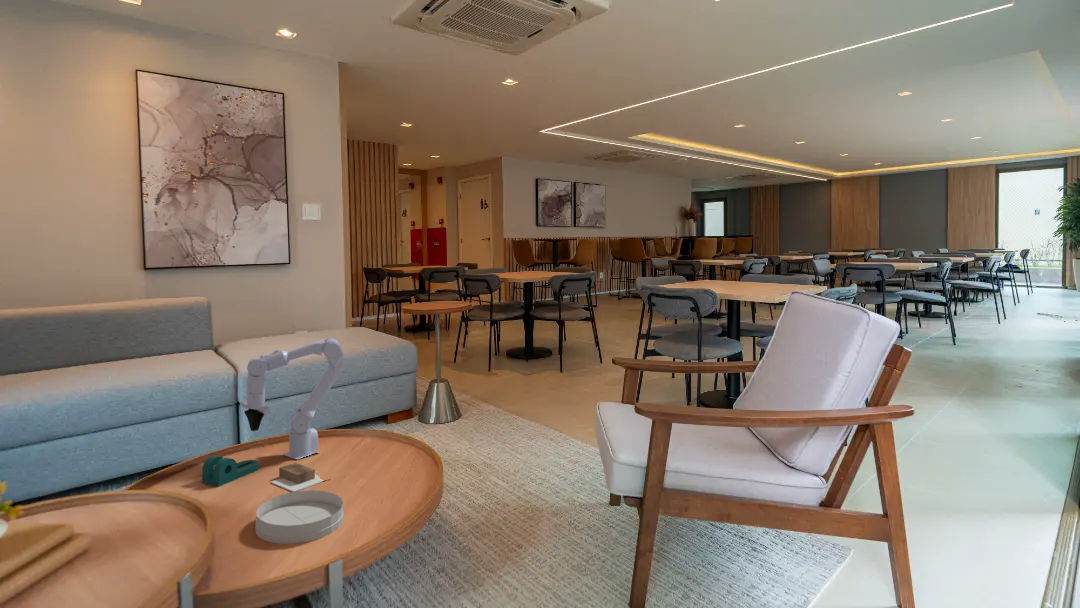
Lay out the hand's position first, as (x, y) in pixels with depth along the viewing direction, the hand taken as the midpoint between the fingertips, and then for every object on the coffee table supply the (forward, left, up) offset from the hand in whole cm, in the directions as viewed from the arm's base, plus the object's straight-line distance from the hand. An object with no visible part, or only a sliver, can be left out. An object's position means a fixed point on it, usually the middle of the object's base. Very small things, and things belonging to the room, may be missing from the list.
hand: (254, 430), depth 197 cm
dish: (+20, +54, -11) cm, 59 cm away
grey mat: (+2, +29, -10) cm, 31 cm away
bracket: (+12, +9, -11) cm, 18 cm away
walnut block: (+2, +22, -9) cm, 23 cm away
